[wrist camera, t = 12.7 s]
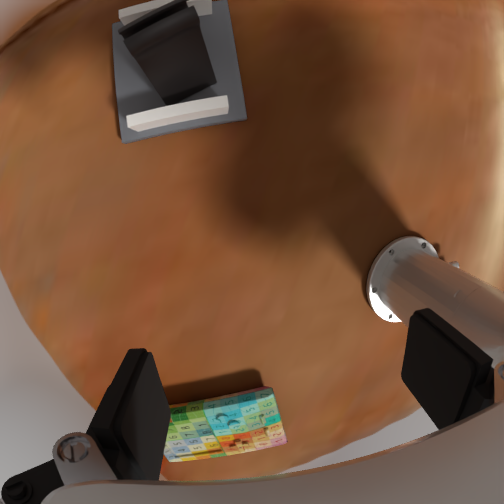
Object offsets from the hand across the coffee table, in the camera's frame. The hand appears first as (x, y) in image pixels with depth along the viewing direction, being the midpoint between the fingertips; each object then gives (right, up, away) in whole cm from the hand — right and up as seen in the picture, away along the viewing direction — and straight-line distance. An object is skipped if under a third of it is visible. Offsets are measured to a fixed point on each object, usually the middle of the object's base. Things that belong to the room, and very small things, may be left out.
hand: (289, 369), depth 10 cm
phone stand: (-10, +25, +19) cm, 33 cm away
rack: (-10, +25, +20) cm, 34 cm away
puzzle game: (-7, -22, +34) cm, 41 cm away
